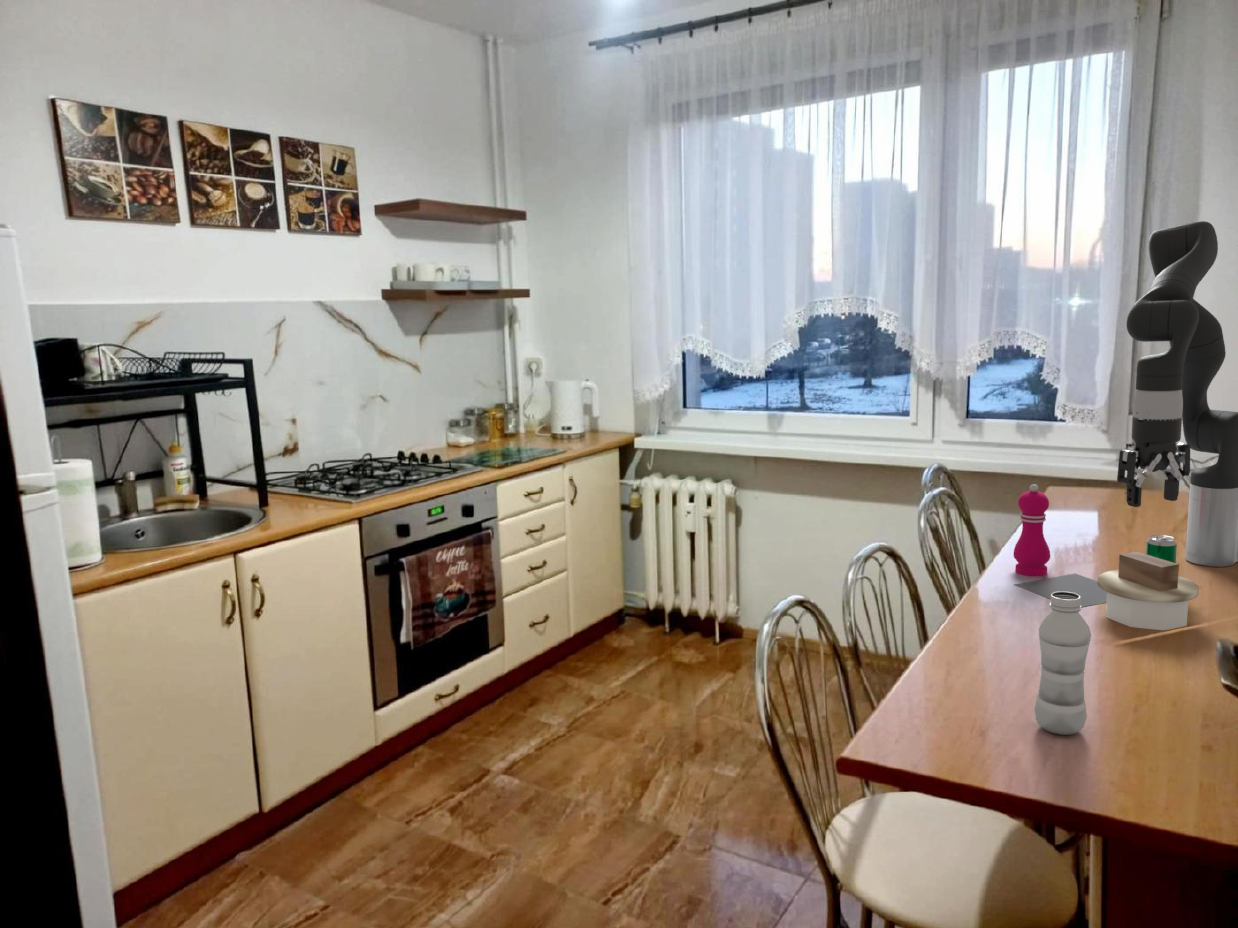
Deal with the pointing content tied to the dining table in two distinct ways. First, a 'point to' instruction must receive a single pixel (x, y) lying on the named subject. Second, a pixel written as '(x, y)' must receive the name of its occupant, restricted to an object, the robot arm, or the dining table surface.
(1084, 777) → the dining table surface
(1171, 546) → the soda can
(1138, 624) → the bowl
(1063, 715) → the plastic bottle
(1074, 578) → the mat
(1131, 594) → the lid
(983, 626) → the dining table surface
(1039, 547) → the pepper mill
